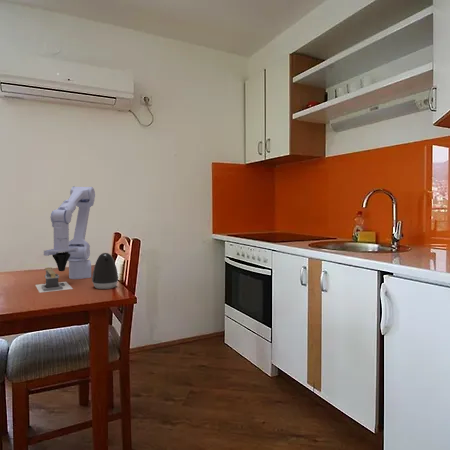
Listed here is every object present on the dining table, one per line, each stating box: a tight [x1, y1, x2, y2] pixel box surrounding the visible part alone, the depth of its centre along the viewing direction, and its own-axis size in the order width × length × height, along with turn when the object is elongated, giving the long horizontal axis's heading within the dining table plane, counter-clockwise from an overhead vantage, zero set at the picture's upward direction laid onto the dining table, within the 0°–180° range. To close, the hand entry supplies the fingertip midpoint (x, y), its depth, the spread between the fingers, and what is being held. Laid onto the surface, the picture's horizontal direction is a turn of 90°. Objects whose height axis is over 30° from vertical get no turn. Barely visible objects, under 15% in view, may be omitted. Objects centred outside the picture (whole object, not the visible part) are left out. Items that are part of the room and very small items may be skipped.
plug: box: [44, 273, 60, 288], centre depth 141 cm, size 5×5×6 cm
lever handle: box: [44, 267, 56, 278], centre depth 143 cm, size 3×14×2 cm, turn 34°
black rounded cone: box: [91, 252, 119, 290], centre depth 145 cm, size 10×10×15 cm
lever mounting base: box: [35, 270, 74, 294], centre depth 144 cm, size 12×15×7 cm
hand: (61, 270), depth 146 cm, fingers closed
